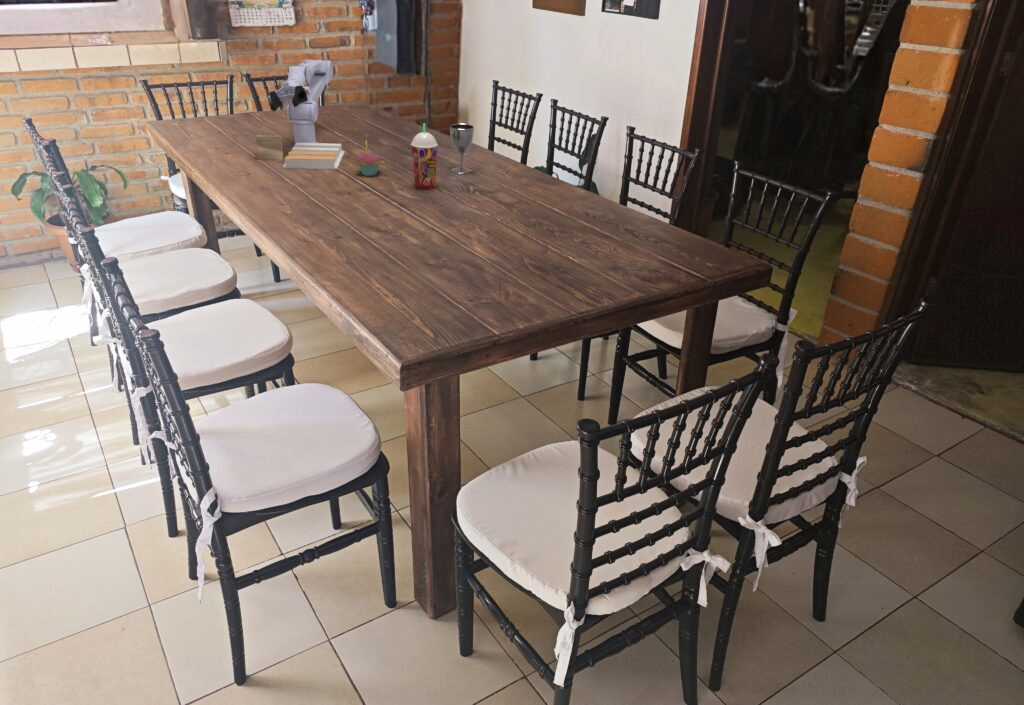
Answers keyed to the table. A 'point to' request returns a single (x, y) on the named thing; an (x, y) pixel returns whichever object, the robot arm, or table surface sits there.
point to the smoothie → (424, 159)
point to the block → (269, 147)
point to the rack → (314, 156)
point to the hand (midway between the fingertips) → (283, 106)
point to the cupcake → (368, 162)
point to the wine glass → (461, 142)
